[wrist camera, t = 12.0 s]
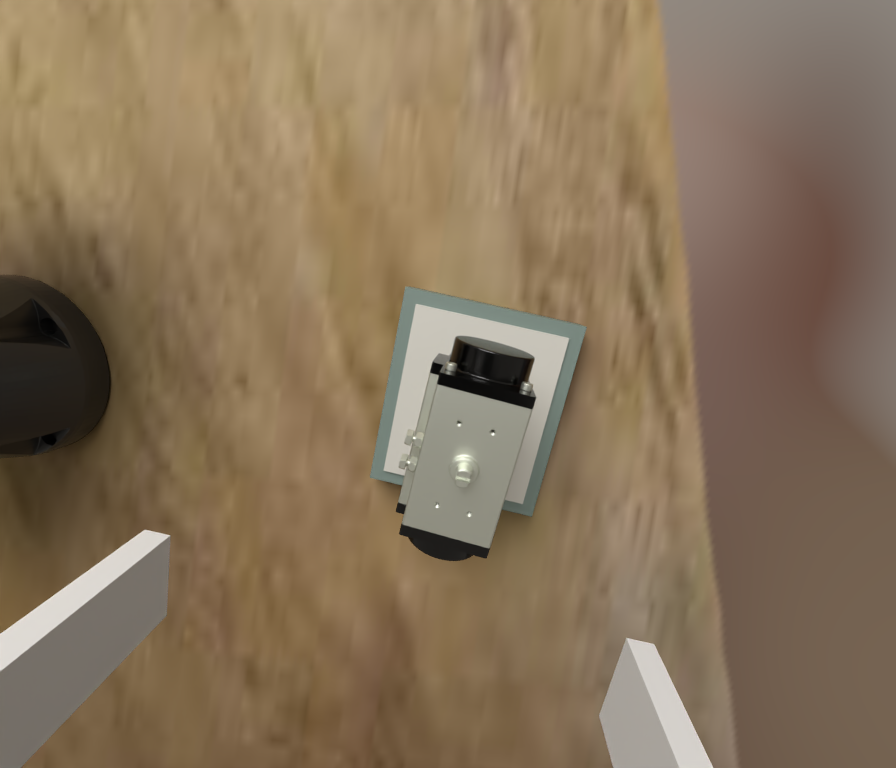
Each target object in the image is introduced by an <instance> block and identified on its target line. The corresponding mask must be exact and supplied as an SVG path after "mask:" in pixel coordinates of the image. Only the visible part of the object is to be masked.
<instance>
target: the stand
mask: <svg viewBox="0 0 896 768" xmlns="http://www.w3.org/2000/svg"><path fill="white" fill-rule="evenodd" d="M586 328H587V327H585V326H583V325H580V324H576V323H572V322H567V321H563V320H558V319H554V318H549V317H545V316H540V315H536V314H531V313H527V312H522V311H518V310H513V309H509V308H504V307H500V306H495V305H491V304H486V303H482V302H477V301H473V300H468V299H464V298H459V297H455V296H450V295H446V294H441V293H437V292H432V291H428V290H423V289H419V288H414V287H405V292H404V298H403V303H402V308H401V314H400V319H399V324H398V330H397V335H396V341H395V346H394V351H393V357H392V362H391V367H390V373H389V378H388V383H387V389H386V394H385V399H384V405H383V410H382V416H381V421H380V426H379V432H378V437H377V442H376V448H375V453H374V458H373V464H372V469H371V474H370V478H374V479H378V480H382V481H386V482H390V483H395V484H399V485H402V484H403V480H404V476H405V472H406V467H407V466H406V467H405V470H404V469H401V468H399V463H400V459H401V456H402V454H407V455H410V451H411V447H412V443H413V442H412V443H411V446H410V445H406V444H404V442H405V438H406V434H407V431H408V430H409V429H411V430H414V435H415V431H416V427H417V423H418V418H419V414H420V410H421V406H422V402H423V398H424V394H425V390H426V386H427V382H428V378H429V374H430V369H431V365H432V361H433V360H434V359H435V358H436V356H437V355H438V354H439V353H441V354H445V355H450V353H451V351H452V348H453V344H454V340H455V337H456V336H470V337H476V338H481V339H485V340H490V341H494V342H497V343H501V344H504V345H508V346H511V347H514V348H517V349H520V350H522V351H525V352H527V353H529V354H531V355H533V356H534V357H535V361H534V364H533V367H532V371H531V374H530V377H529V382H530V383H531V384H533V391H534V393H535V395H536V401H535V404H534V407H533V410H532V414H531V417H530V420H529V423H528V427H527V430H526V433H525V436H524V439H523V443H522V446H521V449H520V452H519V456H518V459H517V462H516V465H515V469H514V472H513V475H512V478H511V481H510V485H509V488H508V491H507V494H506V498H505V501H504V504H503V507H502V510H506V511H510V512H514V513H519V514H523V515H527V516H531V517H532V514H533V511H534V507H535V504H536V501H537V497H538V494H539V490H540V487H541V483H542V480H543V476H544V473H545V469H546V466H547V462H548V459H549V456H550V452H551V449H552V445H553V442H554V438H555V435H556V431H557V428H558V424H559V421H560V417H561V414H562V411H563V407H564V404H565V400H566V397H567V393H568V390H569V386H570V383H571V379H572V376H573V373H574V369H575V366H576V362H577V359H578V355H579V352H580V348H581V345H582V341H583V338H584V334H585V331H586ZM408 459H409V457H408Z"/></svg>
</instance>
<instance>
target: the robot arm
mask: <svg viewBox="0 0 896 768" xmlns="http://www.w3.org/2000/svg"><path fill="white" fill-rule="evenodd" d="M108 395H109V369H108V363H107V359H106V355H105V352H104V349H103V346H102V344H101V342H100V339H99V337H98V335H97V334H96V332H95V330H94V328H93V327H92V325H91V324H90V322H89V321H88V319H87V318H86V317H85V315H84V314H83V313H82V312H81V311H80V310H79V309H78V308H77V306H76V305H75V304H73V303H72V302H71V301H70V300H69V299H68V298H67V297H65V296H64V295H63V294H61V293H60V292H59V291H57V290H55V289H54V288H52V287H50V286H48V285H46V284H44V283H42V282H40V281H37V280H34V279H31V278H28V277H23V276H17V275H0V458H9V457H23V456H33V455H38V454H43V453H46V452H50V451H52V450H55V449H58V448H60V447H63V446H66V445H69V444H71V443H74V442H76V441H78V440H79V439H81V438H83V437H84V436H85V435H87V434H88V433H89V432H90V431H91V430H92V429H93V428H94V427H95V426H96V424H97V423H98V421H99V420H100V418H101V416H102V414H103V412H104V410H105V407H106V404H107V400H108ZM169 555H170V535H166V534H162V533H157V532H153V531H149V530H144V531H142V532H141V533H139V534H138V535H137V536H135V537H134V538H133V539H131V540H130V541H128V542H127V543H126V544H124V545H123V546H121V547H120V548H119V549H117V550H116V551H114V552H113V553H112V554H110V555H109V556H108V557H106V558H105V559H103V560H102V561H101V562H99V563H98V564H96V565H95V566H94V567H92V568H91V569H90V570H88V571H87V572H85V573H84V574H83V575H81V576H80V577H78V578H77V579H76V580H74V581H73V582H72V583H70V584H69V585H67V586H66V587H65V588H63V589H62V590H60V591H59V592H58V593H56V594H55V595H53V596H52V597H51V598H49V599H48V600H47V601H45V602H44V603H42V604H41V605H40V606H38V607H37V608H35V609H34V610H33V611H31V612H30V613H29V614H27V615H26V616H24V617H23V618H22V619H20V620H19V621H17V622H16V623H15V624H13V625H12V626H11V627H9V628H8V629H6V630H5V631H4V632H2V633H1V634H0V768H21V767H22V766H23V765H24V764H25V763H26V762H27V761H28V759H29V758H30V757H31V756H32V755H33V754H34V753H35V752H36V751H37V750H38V749H39V748H40V747H41V746H42V745H43V744H44V743H45V742H46V741H47V740H48V739H49V738H50V737H51V735H52V734H53V733H54V732H55V731H56V730H57V729H58V728H59V727H60V726H61V725H62V724H63V723H64V722H65V721H66V720H67V719H68V718H69V717H70V716H71V715H72V714H73V713H74V712H75V710H76V709H77V708H78V707H79V706H80V705H81V704H82V703H83V702H84V701H85V700H86V699H87V698H88V697H89V696H90V695H91V694H92V693H93V692H94V691H95V690H96V689H97V688H98V686H99V685H100V684H101V683H102V682H103V681H104V680H105V679H106V678H107V677H108V676H109V675H110V674H111V673H112V672H113V671H114V670H115V669H116V668H117V667H118V666H119V665H120V664H121V663H122V661H123V660H124V659H125V658H126V657H127V656H128V655H129V654H130V653H131V652H132V651H133V650H134V649H135V648H136V647H137V646H138V645H139V644H140V643H141V642H142V641H143V640H144V639H145V637H146V636H147V635H148V634H149V633H150V632H151V631H152V630H153V629H154V628H155V627H156V626H157V625H158V624H159V623H160V622H161V621H162V620H163V619H164V618H165V617H166V616H167V597H168V576H169ZM599 717H600V721H601V724H602V728H603V732H604V735H605V739H606V743H607V746H608V750H609V754H610V757H611V761H612V765H613V768H713V766H712V764H711V762H710V760H709V758H708V756H707V754H706V752H705V750H704V748H703V746H702V743H701V741H700V739H699V737H698V735H697V733H696V731H695V729H694V727H693V725H692V723H691V720H690V718H689V716H688V714H687V712H686V710H685V708H684V706H683V704H682V702H681V700H680V697H679V695H678V693H677V691H676V689H675V687H674V685H673V683H672V681H671V679H670V677H669V674H668V672H667V670H666V668H665V666H664V664H663V662H662V660H661V658H660V656H659V654H658V651H657V649H656V647H655V645H654V644H651V643H647V642H642V641H638V640H633V639H629V638H626V641H625V643H624V646H623V649H622V652H621V655H620V658H619V660H618V663H617V666H616V669H615V672H614V675H613V677H612V680H611V683H610V686H609V689H608V692H607V695H606V697H605V700H604V703H603V706H602V709H601V712H600V714H599Z"/></svg>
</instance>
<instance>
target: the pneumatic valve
mask: <svg viewBox="0 0 896 768" xmlns="http://www.w3.org/2000/svg"><path fill="white" fill-rule="evenodd" d="M534 361H535V357H534V356H533V355H531V354H529V353H527V352H525V351H522V350H520V349H517V348H514V347H511V346H508V345H504V344H501V343H497V342H494V341H490V340H485V339H481V338H476V337H470V336H456V337H455V340H454V344H453V348H452V351H451V353H450V355H445V354H441V353H439V354H438V355H437V356H436V358H435V359H434V360H433V361H432V365H431V369H430V374H429V378H428V382H427V386H426V390H425V394H424V398H423V402H422V406H421V410H420V414H419V418H418V423H417V427H416V431H415V435H414V430H411V429H409V430H408V431H407V434H406V438H405V442H404V444H406V445H410V446H411V443H412V442H413V443H412V447H411V451H410V455H407V454H402V456H401V459H400V463H399V468H401V469H404V470H405V467H406V466H407V467H406V472H405V476H404V480H403V484H402V488H401V492H400V496H399V500H398V504H397V508H396V512H398V513H402V514H404V516H403V520H402V524H401V528H400V532H399V534H400V535H403V536H407V537H408V538H409V539H410V541H411V542H412V543H413V545H414V546H415V547H417V548H418V549H419V550H421V551H422V552H424V553H425V554H428V555H430V556H432V557H435V558H438V559H442V560H448V561H460V560H464V559H467V558H470V557H471V556H473V555H475V556H479V557H482V558H487V556H488V553H489V549H490V546H491V543H492V540H493V536H494V533H495V530H496V527H497V523H498V520H499V517H500V514H501V511H502V507H503V504H504V501H505V498H506V494H507V491H508V488H509V485H510V481H511V478H512V475H513V472H514V469H515V465H516V462H517V459H518V456H519V452H520V449H521V446H522V443H523V439H524V436H525V433H526V430H527V427H528V423H529V420H530V417H531V414H532V410H533V407H534V404H535V401H536V395H535V393H534V391H533V384H531V383H530V382H529V377H530V374H531V371H532V367H533V364H534ZM408 457H409V459H408Z"/></svg>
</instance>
